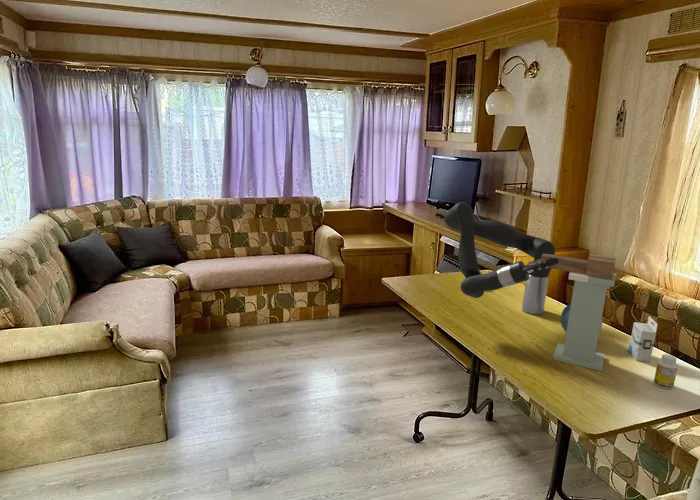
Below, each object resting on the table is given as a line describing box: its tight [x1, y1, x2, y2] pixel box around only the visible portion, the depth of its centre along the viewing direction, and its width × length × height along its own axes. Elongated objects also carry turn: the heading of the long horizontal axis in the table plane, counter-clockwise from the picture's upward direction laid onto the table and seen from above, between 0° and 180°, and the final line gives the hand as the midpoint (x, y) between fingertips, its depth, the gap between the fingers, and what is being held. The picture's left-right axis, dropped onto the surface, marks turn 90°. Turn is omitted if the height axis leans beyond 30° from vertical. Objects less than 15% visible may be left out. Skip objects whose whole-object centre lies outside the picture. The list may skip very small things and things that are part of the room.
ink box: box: [628, 316, 658, 363], centre depth 179 cm, size 9×5×15 cm, turn 168°
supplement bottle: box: [653, 353, 679, 390], centre depth 160 cm, size 6×6×10 cm
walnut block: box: [541, 253, 617, 280], centre depth 171 cm, size 8×23×6 cm, turn 60°
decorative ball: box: [560, 303, 603, 333], centre depth 194 cm, size 15×15×15 cm
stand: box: [552, 271, 617, 372], centre depth 174 cm, size 12×16×32 cm
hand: (558, 258), depth 174 cm, fingers closed on walnut block, 4 cm apart
